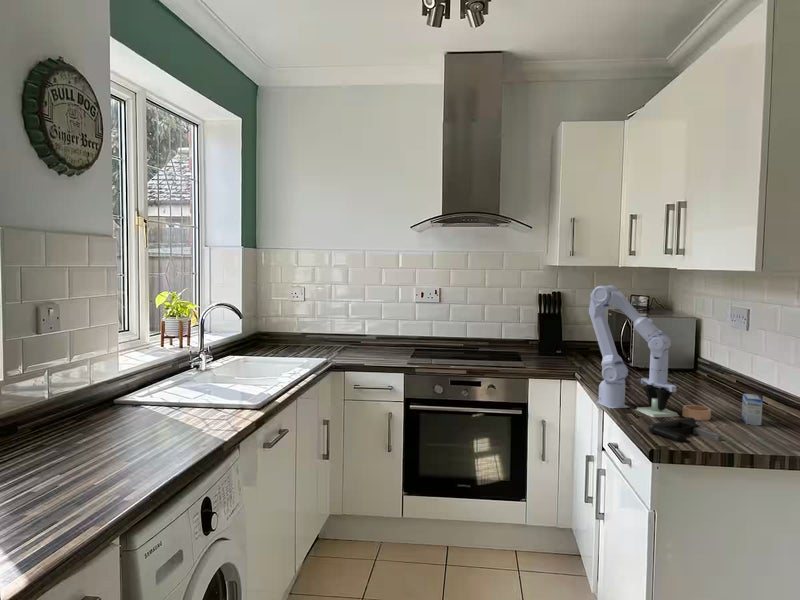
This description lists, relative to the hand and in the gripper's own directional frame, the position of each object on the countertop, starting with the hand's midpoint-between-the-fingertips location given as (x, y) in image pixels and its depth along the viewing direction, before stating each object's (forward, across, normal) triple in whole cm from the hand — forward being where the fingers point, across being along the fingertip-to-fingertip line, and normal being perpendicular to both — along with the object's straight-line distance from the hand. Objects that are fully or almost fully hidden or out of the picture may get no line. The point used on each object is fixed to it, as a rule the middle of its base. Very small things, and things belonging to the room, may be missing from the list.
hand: (657, 408), depth 198 cm
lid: (+2, 0, 0) cm, 2 cm away
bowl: (+2, +8, +9) cm, 12 cm away
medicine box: (+2, +17, +23) cm, 29 cm away
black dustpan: (+3, +22, -8) cm, 24 cm away
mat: (+2, 0, 0) cm, 2 cm away
